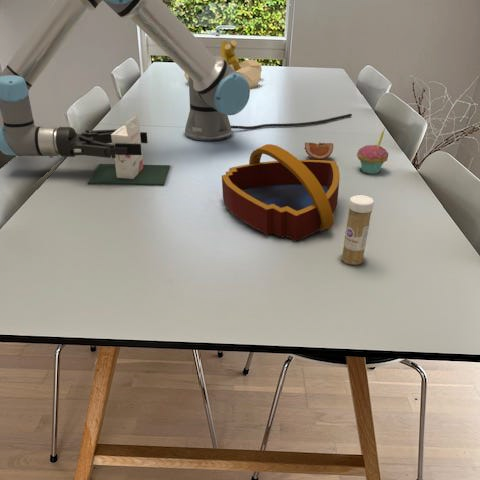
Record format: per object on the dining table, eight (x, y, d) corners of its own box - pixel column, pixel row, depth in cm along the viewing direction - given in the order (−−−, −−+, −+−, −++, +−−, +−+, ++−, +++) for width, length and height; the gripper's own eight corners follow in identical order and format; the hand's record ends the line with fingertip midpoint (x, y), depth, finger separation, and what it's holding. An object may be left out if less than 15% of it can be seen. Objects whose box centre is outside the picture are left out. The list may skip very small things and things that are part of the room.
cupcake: (386, 167, 155) (394, 125, 148) (383, 178, 148) (391, 134, 141) (357, 164, 157) (363, 122, 150) (352, 173, 151) (358, 130, 144)
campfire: (262, 92, 226) (264, 47, 216) (182, 90, 226) (180, 45, 216) (260, 74, 255) (262, 34, 245) (189, 73, 255) (188, 32, 245)
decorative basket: (207, 198, 140) (197, 143, 131) (305, 168, 147) (302, 113, 138) (262, 260, 116) (255, 197, 106) (377, 220, 123) (380, 157, 113)
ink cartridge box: (127, 167, 151) (121, 113, 142) (144, 168, 150) (139, 114, 142) (115, 178, 144) (108, 121, 135) (133, 179, 143) (127, 123, 135)
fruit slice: (303, 162, 158) (304, 145, 155) (303, 154, 163) (305, 138, 160) (331, 163, 157) (333, 146, 154) (331, 156, 162) (333, 139, 160)
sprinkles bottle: (337, 260, 110) (345, 199, 103) (348, 252, 113) (357, 192, 105) (356, 268, 108) (366, 205, 100) (367, 259, 111) (378, 198, 103)
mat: (170, 166, 153) (169, 165, 153) (163, 185, 142) (163, 183, 141) (100, 165, 153) (99, 163, 153) (88, 184, 142) (87, 182, 141)
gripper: (72, 142, 153) (151, 144, 153) (49, 170, 136) (138, 172, 136) (68, 115, 149) (149, 117, 149) (43, 140, 131) (135, 142, 131)
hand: (144, 143), depth 142 cm, fingers closed on ink cartridge box, 9 cm apart
